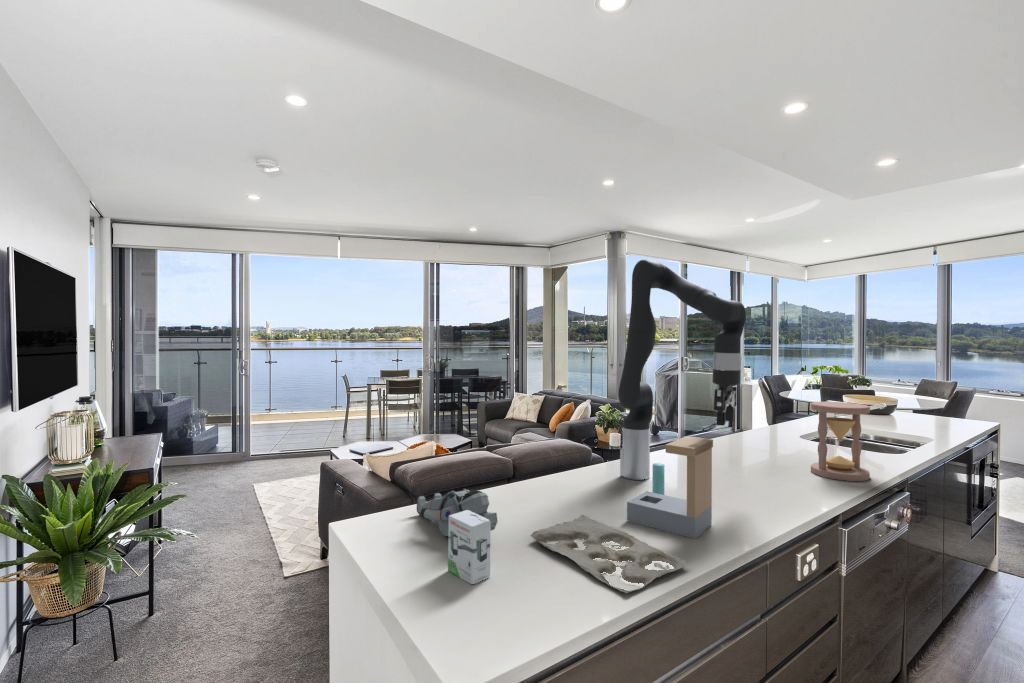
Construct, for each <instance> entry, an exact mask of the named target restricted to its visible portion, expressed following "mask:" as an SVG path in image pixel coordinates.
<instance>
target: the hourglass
mask: <svg viewBox="0 0 1024 683" xmlns="http://www.w3.org/2000/svg"><path fill="white" fill-rule="evenodd" d="M810 409H811V410H812V411H815V412H818V424H817V434H818V436H819V437H818V438H819V441H818V444H817V454H818V462H814V463H812V464H810V472H811V473H812V474H815V475H817V476H818V477H819V476H820V477H823V478H826V479H831V480H836V479H837V481H843V480H846V482H866V481H868V480H870V478H871V474H870V471H869V470H868V469H866V468H864V467H861V453H862V446H861V442H860V436H861V433H862V425H861V415H868V414H870V413H871V408H870V406H869V405H866V404H862V403H852V402H843V401H842V402H841V401H814V402H811V404H810ZM827 414H837V415H839V414H840V415H852V418H849V417H848V418H845V417H838V416H837V417H836V416H835V417H834V416H833V417H830V416H828V417H827ZM828 427H829V429H830V430H831V431H832V433H833V434H834V435H835V436H836V442H843V438H844V437H845V436H846V435H847V434H848V432H849V431H851V434H852V437H853V439H852V443H851V445H850V446H851V447H850V451H851V460H850V459H848V458H845V457H843V456H841V455H837V456H833V457H830V458H829V457H828V458H827V455H828V446H827V442H826V438H827V435H828Z"/></svg>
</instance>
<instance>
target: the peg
mask: <svg viewBox="0 0 1024 683" xmlns="http://www.w3.org/2000/svg"><path fill="white" fill-rule="evenodd" d="M652 492H653V493H657V494H662V495H665V464H664V463H659V462H656V463H655V462H654V463H652Z"/></svg>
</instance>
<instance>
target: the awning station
mask: <svg viewBox="0 0 1024 683" xmlns="http://www.w3.org/2000/svg"><path fill="white" fill-rule="evenodd" d="M712 448H714V439H712V438H704V437H697V436H690V435H689V436H688V435H686V436H683V437H680V438H679V439H676V440H674V441H671V442H669V443H666V444H665V453H667V454H673V455H677V456H679V455H680V456H685V457H686V499H685V498H679V497H675V496H670V495H667V494H666V495H665V494H664V495H662V494H657V493H653V491H652V492H651V491H648V490H646V491H644V492H643V493H640V494H639V495H637V496H635V497H634V498H632V499H630V500H628V501H627V502H626V521H627V522H630V521H631V523H635V524H637V523H638V524H639V525H642V526H646V527H648V528H649V527H650V528H654V529H657V530H661V531H664V532H669V533H672V534H675V535H678V536H679V535H680V536H683V537H687V536H688V537H687V538H690V537H691V539H694V538H695V539H697V538H698V537H699V536H700V535H701V534H702V533H703V532H705V529H706V530H707V529H708V528H709V527H710V526H712V525H713V524H712V522H713V521H712V520H713V519H712V518H713V517H712V507H713V506H712V505H713V504H712V502H713V501H712V500H713V499H712V497H713V496H712V495H713V494H712V491H713V488H712V486H713V485H712V484H713V483H712V482H713V481H712V480H713V479H712V478H713V477H712V476H713V473H712V472H713V471H712V469H713V464H712V462H713V449H712ZM698 535H699V536H698Z"/></svg>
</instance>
